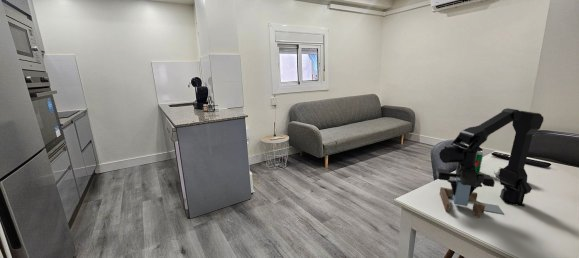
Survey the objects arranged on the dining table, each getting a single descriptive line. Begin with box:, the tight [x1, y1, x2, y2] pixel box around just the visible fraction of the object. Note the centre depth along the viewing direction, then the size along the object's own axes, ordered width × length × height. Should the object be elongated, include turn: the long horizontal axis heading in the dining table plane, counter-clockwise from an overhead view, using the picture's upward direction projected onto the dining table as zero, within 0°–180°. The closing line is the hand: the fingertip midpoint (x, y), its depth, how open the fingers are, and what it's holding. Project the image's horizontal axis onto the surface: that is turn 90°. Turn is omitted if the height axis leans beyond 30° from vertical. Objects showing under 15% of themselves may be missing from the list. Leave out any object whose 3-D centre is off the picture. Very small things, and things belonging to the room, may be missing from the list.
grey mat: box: [478, 202, 505, 215], centre depth 99 cm, size 6×6×1 cm
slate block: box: [451, 178, 471, 207], centre depth 100 cm, size 4×4×10 cm
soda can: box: [475, 151, 484, 174], centre depth 134 cm, size 5×5×12 cm
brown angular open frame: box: [439, 187, 485, 219], centre depth 101 cm, size 14×16×4 cm
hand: (460, 195), depth 100 cm, fingers closed on slate block, 4 cm apart
